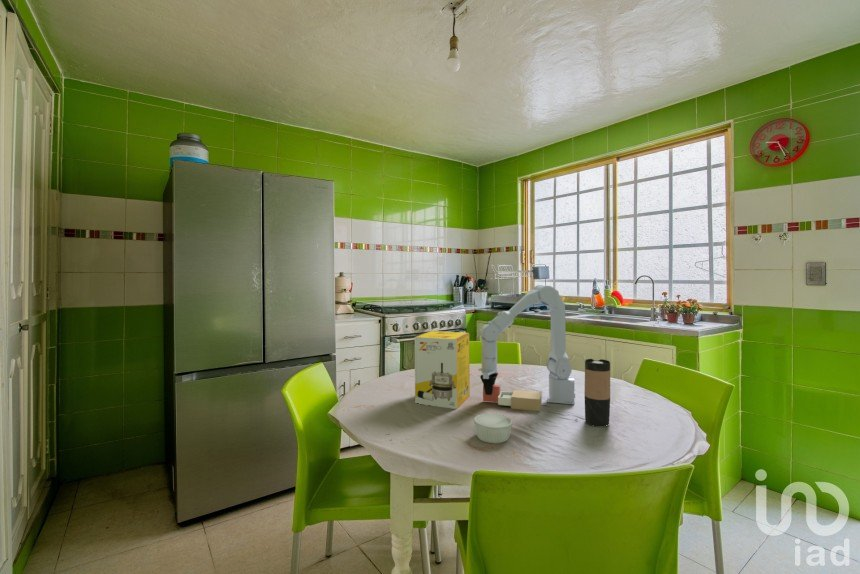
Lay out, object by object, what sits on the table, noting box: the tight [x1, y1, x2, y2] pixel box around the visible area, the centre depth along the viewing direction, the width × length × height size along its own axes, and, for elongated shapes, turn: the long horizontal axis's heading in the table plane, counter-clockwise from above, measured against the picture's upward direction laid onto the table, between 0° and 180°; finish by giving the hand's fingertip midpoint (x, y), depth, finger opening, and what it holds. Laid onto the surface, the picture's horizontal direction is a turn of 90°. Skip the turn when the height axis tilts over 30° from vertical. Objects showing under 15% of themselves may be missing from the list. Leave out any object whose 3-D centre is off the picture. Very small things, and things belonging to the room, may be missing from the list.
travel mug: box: [584, 358, 611, 427], centre depth 129 cm, size 8×8×20 cm
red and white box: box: [482, 384, 513, 407], centre depth 149 cm, size 15×8×6 cm, turn 72°
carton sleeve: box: [510, 389, 543, 412], centre depth 146 cm, size 10×9×4 cm
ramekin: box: [473, 412, 513, 444], centre depth 119 cm, size 11×11×5 cm
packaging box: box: [414, 330, 471, 410], centre depth 154 cm, size 16×16×25 cm
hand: (489, 393), depth 151 cm, fingers closed on red and white box, 2 cm apart
